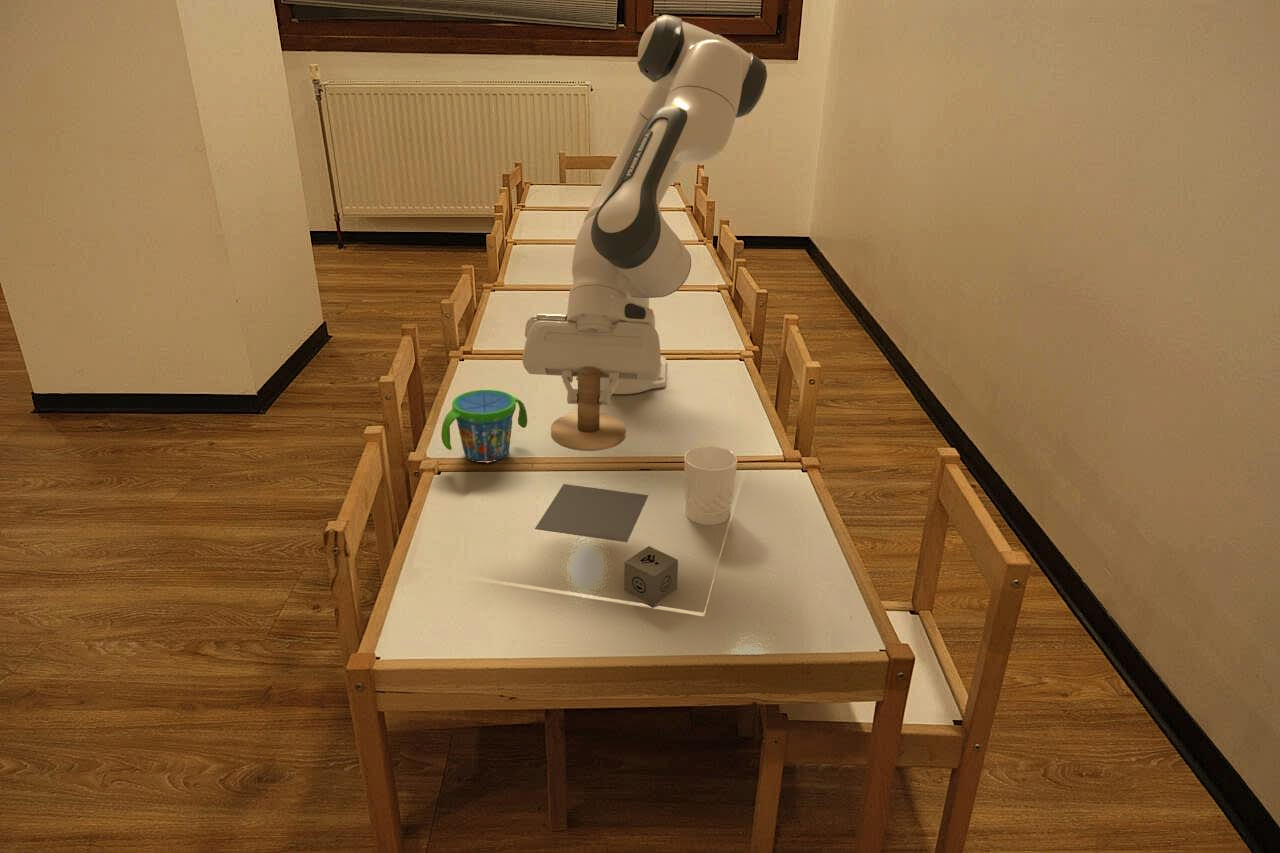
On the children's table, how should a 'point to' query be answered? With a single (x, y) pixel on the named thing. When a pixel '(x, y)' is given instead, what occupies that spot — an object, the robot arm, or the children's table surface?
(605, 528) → the mat
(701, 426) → the children's table surface
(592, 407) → the lid
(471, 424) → the snack cup
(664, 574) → the dice cube
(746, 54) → the robot arm
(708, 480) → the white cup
